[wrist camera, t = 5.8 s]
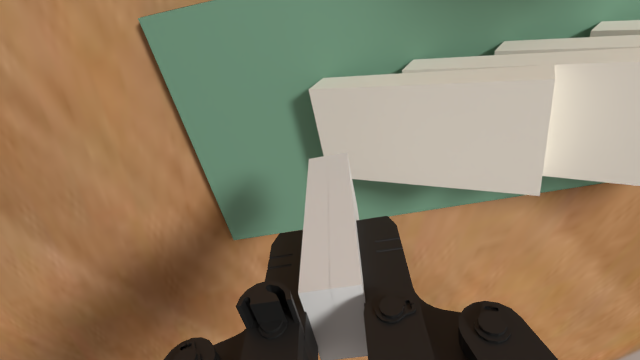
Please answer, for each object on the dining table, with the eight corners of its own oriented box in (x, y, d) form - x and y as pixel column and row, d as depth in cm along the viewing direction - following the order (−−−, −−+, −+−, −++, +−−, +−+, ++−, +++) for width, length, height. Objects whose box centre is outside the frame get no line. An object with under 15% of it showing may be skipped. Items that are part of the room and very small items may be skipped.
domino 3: (409, 162, 20) (657, 187, 14) (401, 70, 17) (700, 59, 12) (419, 147, 21) (653, 166, 15) (413, 59, 18) (691, 44, 13)
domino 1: (328, 176, 20) (539, 196, 15) (308, 89, 17) (554, 79, 13) (340, 161, 21) (540, 175, 16) (323, 77, 19) (554, 64, 14)
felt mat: (235, 234, 25) (233, 240, 24) (143, 16, 18) (137, 18, 17) (797, 146, 21) (808, 151, 20) (970, -179, 14) (995, -185, 13)
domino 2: (490, 147, 19) (784, 181, 13) (494, 51, 17) (861, 39, 11) (498, 134, 20) (775, 160, 14) (504, 41, 18) (844, 25, 12)
